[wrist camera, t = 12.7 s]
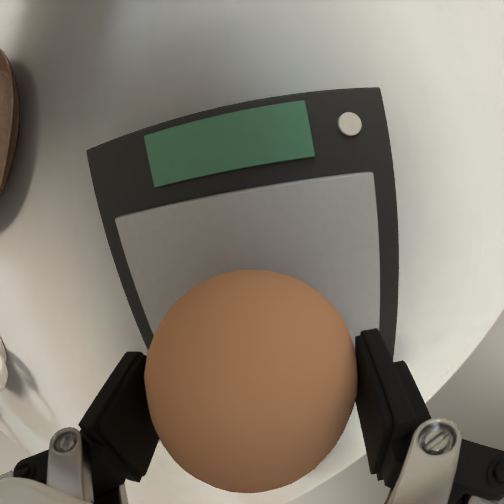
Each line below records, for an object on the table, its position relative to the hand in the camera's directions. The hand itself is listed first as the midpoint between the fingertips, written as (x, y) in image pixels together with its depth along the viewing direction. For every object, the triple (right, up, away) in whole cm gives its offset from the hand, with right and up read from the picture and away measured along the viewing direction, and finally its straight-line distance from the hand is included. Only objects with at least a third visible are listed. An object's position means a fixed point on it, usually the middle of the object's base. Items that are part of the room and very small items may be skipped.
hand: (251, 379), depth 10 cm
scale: (0, +4, +6) cm, 8 cm away
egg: (0, +1, +4) cm, 5 cm away
